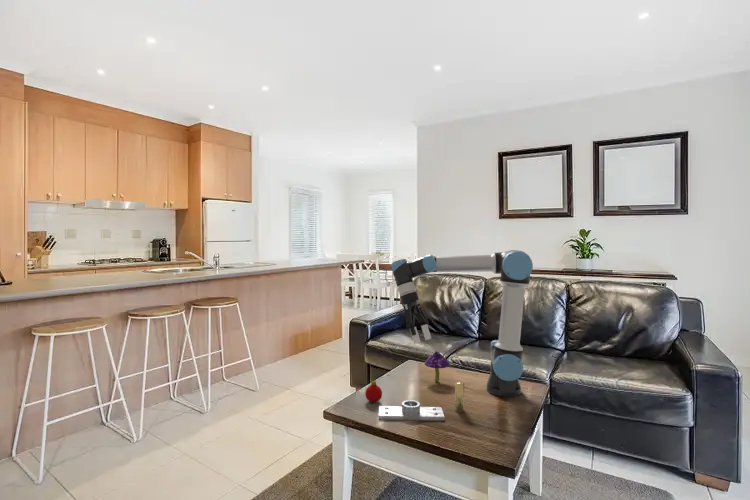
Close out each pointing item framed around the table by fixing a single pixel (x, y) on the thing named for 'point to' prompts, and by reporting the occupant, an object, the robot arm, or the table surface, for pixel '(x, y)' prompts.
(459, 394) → the hinge pin
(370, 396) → the christmas ornament
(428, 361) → the decorative mushroom
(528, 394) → the table surface
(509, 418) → the table surface
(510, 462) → the table surface
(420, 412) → the hinge leaves
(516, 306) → the robot arm
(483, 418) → the table surface
